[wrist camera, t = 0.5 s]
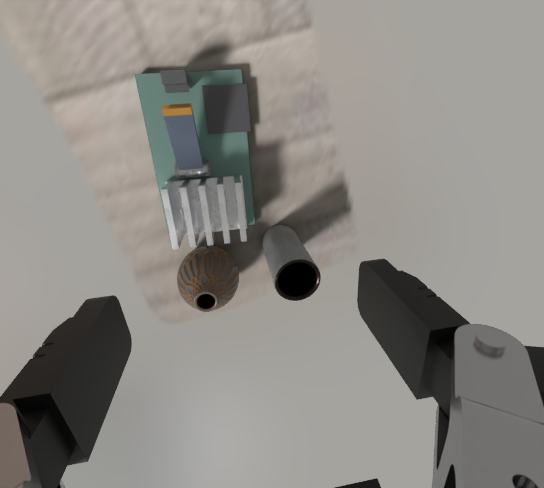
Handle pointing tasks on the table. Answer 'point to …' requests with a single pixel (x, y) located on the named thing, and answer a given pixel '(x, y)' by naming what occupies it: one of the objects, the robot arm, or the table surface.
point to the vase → (208, 278)
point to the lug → (175, 81)
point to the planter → (290, 264)
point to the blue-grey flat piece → (184, 140)
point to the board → (202, 125)
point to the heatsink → (204, 207)
